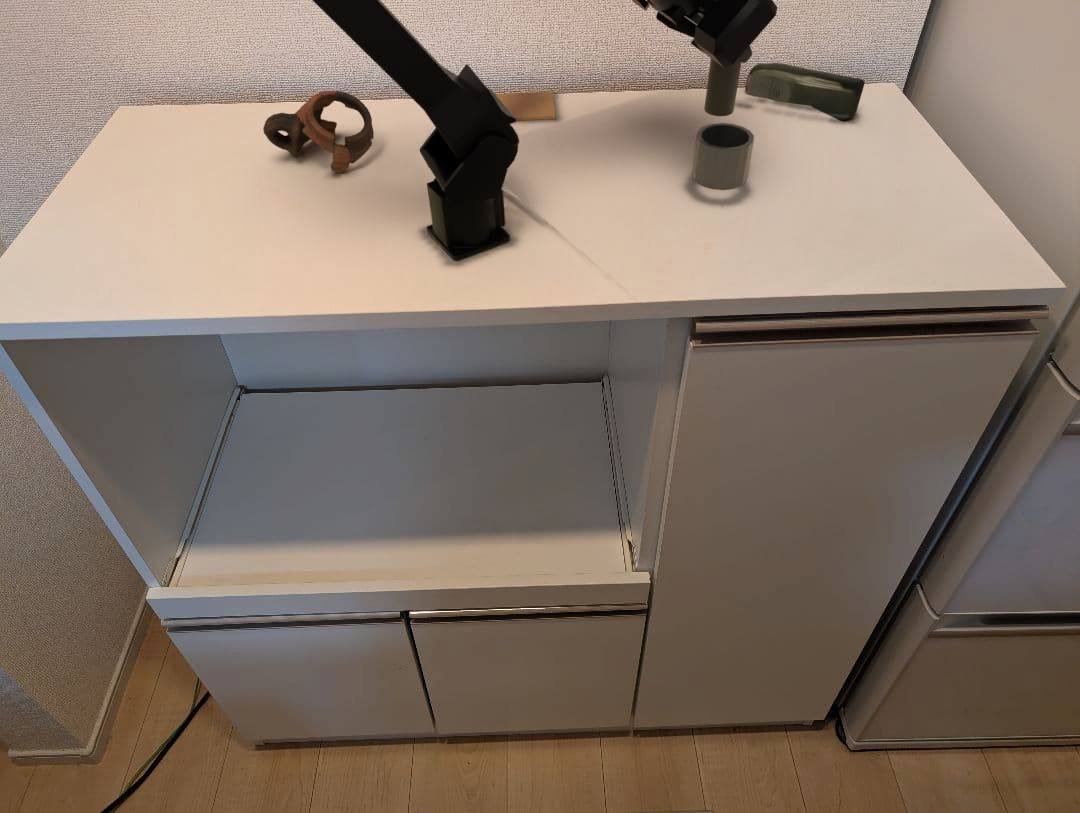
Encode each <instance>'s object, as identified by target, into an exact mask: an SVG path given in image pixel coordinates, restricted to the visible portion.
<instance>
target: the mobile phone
mask: <svg viewBox="0 0 1080 813" xmlns="http://www.w3.org/2000/svg"><path fill="white" fill-rule="evenodd" d="M865 83H866V82H865V80H864V79H862V78H858V77H853V76H848V75H842V74H838V73H837V74H836V73H832V72H827V71H821V70H816V69H811V68H810V69H809V68H806V67H802V66H796V65H792V64H788V63H781V62H771V63H757V64H755V65H754V66H752V68H751V69H750V71H749V73H748V75H747V78H746V82H745V90H744V93H745V95H748V96H750V97H754V98H762V99H767V100H771V101H775V102H780V103H785V104H792V105H800V106H807V107H811V108H813V109H815V110H817V111H819V112H821V113H823V114H825V115H828V116H830V117H831V118H833V119H835V120H837V121H845V120H846V121H847V120H849V119H850V120H851V119H853V118H854V117H855V116H856V114H857V112H858V108H859V104H860V102H861V98H862V94H863V90H864V87H865Z"/></svg>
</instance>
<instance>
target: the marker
mask: <svg viewBox="0 0 1080 813" xmlns="http://www.w3.org/2000/svg"><path fill="white" fill-rule="evenodd" d="M741 66H742V63H741V62H738V61H736V62H735V63H734V64H733V65H732V66H729V67H727V68H724V67H722V66H721V65H720V64H718V63H717V62H715V61H714V60H713V59H711V58H710V62H709V69H708V75H707V76H708V77H707V85H706V91H705V92H706V94H705V100H704V112H705V113H706V114H708V115H711V116H715V117H726V116H727V117H728V116H730V115H732V114H733V113H734V111H735V106H736V99H737V93H738V87H739V80H740V75H741V74H740V73H741V68H742V67H741Z"/></svg>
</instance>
